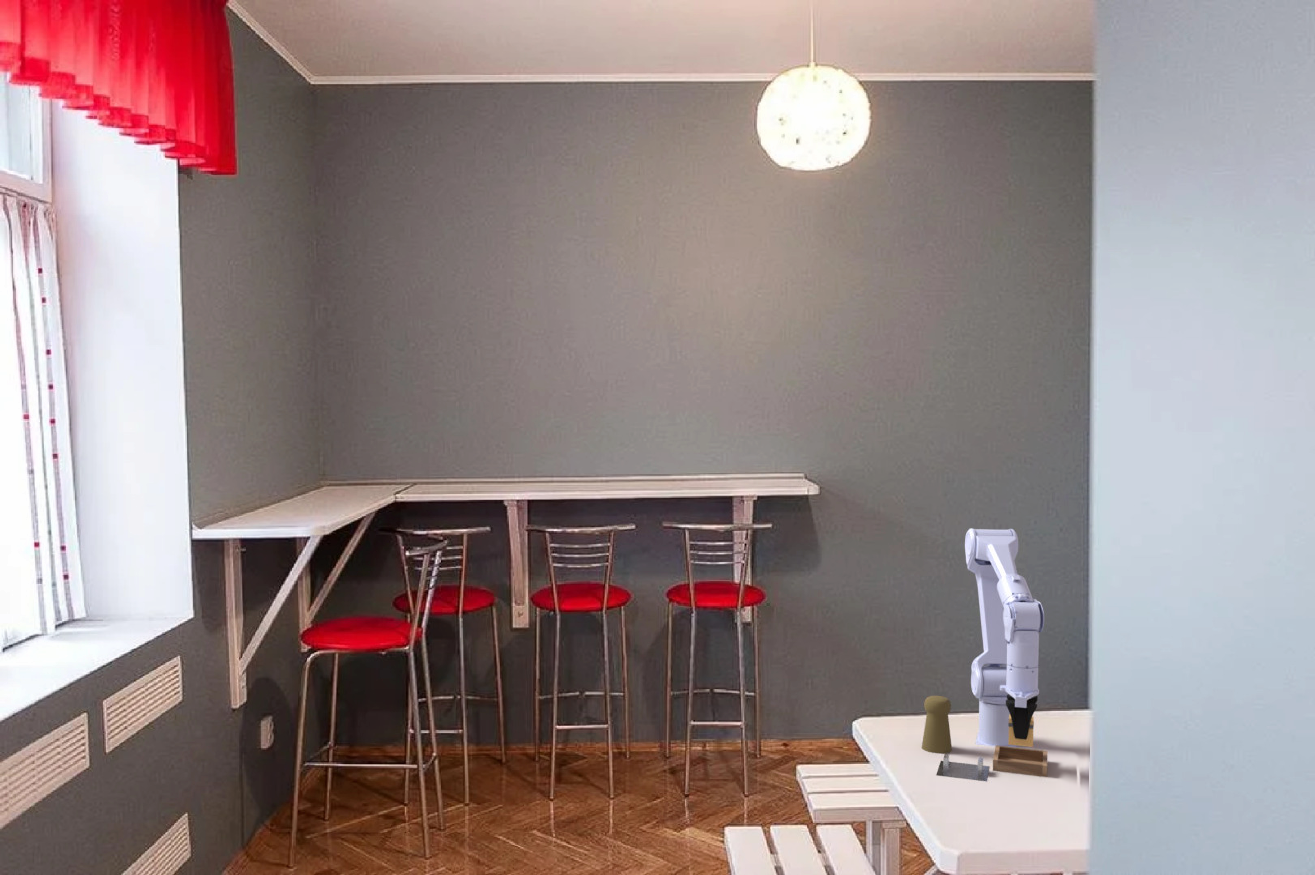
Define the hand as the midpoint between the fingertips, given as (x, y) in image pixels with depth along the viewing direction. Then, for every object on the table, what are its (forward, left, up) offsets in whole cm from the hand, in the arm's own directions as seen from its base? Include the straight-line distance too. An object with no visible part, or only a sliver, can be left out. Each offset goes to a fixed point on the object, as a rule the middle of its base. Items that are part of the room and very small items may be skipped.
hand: (1021, 736), depth 210 cm
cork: (-5, -16, -6) cm, 18 cm away
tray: (0, 0, -6) cm, 6 cm away
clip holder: (+7, -10, -6) cm, 14 cm away
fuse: (0, 0, -2) cm, 2 cm away
